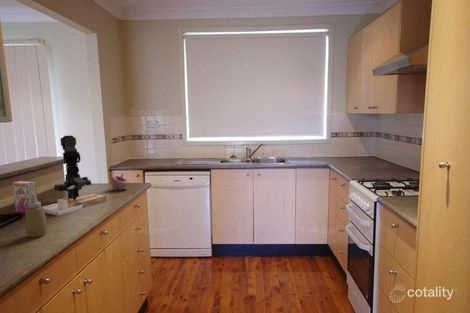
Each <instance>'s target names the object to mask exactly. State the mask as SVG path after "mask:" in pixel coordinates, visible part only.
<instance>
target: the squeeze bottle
mask: <svg viewBox="0 0 470 313" xmlns="http://www.w3.org/2000/svg"><path fill="white" fill-rule="evenodd" d="M41 205H42V202H41V201H39V200H38V198H37V199H36V196H35V194H32V196H31V202H30V203H28V208H27V209H26V211H25V214H24V217H25V219H24V220H25V221H24V222H25V223H24V230H25V232H26V233H27V235H28V237H29V238H31V239H34V238H40V237H43V236H45V234H46V232H47V229H48V222H47V217H46V213H45V212H44V208H43V207H44V206H41Z"/></svg>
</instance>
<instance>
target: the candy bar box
mask: <svg viewBox="0 0 470 313" xmlns="http://www.w3.org/2000/svg"><path fill="white" fill-rule="evenodd" d="M11 184H12V186H11V187H12V193H13V202H14V212H15V213H17V214H24V215H25V211H26V209H27V208H28V203H30V202H31V196H32V194H35V196H36V199H37V200H38V196H37V195H38V194H37V186H36V185H37V184H36V182H33V181H25V180H19V181H14V182H12V183H11Z"/></svg>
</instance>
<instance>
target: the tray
mask: <svg viewBox="0 0 470 313" xmlns="http://www.w3.org/2000/svg"><path fill="white" fill-rule="evenodd" d="M42 207H43V208H44V212H45V214H48V215H52V216H53V215H54V216H57V217H58V216H62V215H65V214H69V213H72V212H75V211H79V210H82V209H83V208H82V205H79V206H75V207H71V208H68V209H64V210H63V209H59V208H58V202H57V203H53V204H49V205H48V204H47V205H44V206H42Z"/></svg>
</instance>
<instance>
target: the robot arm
mask: <svg viewBox="0 0 470 313" xmlns="http://www.w3.org/2000/svg"><path fill="white" fill-rule="evenodd" d="M76 145H77V138H76V137H75V136H74V135H72V134H71V135H64V136H63V137H61V138H60V146H61V147H62V150H63V151H64V152H63V153H62V158H63V164H64V165H65V168H66V169H65V172H66V173H65V175H64V176H65V179H64V180H65V181H63V183H59V184H55V185H54V187H53V189H54V191H57V192H67V193H66V195H67V199H71V198H73V200H76V197H79V196H80V193H79V191H82V188H83V187H85V186H91V185H92V180H91V179H89V177H88V176H84V177H81V173H80V169H79V165H78V164H79V163H80V162H81V154H80V152H79V151H78V149H77V148H76ZM79 173H80V174H79Z"/></svg>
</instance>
